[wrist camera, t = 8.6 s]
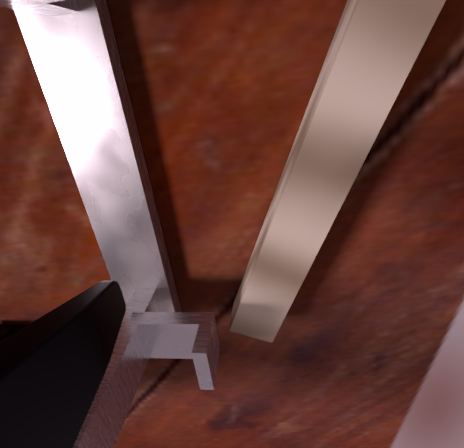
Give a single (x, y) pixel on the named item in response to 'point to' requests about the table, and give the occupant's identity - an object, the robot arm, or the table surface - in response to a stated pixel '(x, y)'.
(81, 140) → the standards
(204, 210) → the table surface
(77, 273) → the table surface
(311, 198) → the rail
